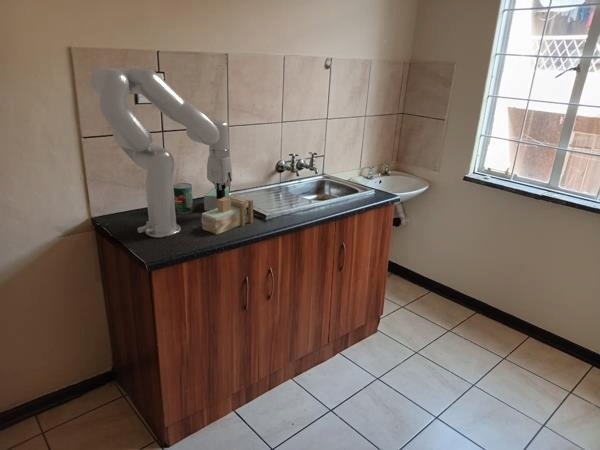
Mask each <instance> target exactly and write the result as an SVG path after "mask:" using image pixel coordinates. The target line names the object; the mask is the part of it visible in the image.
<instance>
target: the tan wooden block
mask: <svg viewBox="0 0 600 450" xmlns="http://www.w3.org/2000/svg"><path fill="white" fill-rule="evenodd" d="M227 198H230V199H231V205H234V206H237V207H240V202H244V203H245V208H246V209H247V208H248V200H249V199H247V198H243V197H239V196H233V195H232V194H229V196H227Z"/></svg>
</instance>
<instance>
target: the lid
mask: <svg viewBox="0 0 600 450" xmlns="http://www.w3.org/2000/svg"><path fill="white" fill-rule="evenodd" d="M245 210H247V208H245ZM237 213H240V207H237V206H234V205H231V199H230V198H227V197H225V198H221V199H218V208H217V209H214V210H211V211H205V212H202V213H201V217H202V216H204V217H207V218H210V219H213V220H216V221H217V220H220V219H223V218H225V217H228V216H231V215H234V214H237Z"/></svg>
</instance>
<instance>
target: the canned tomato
mask: <svg viewBox="0 0 600 450" xmlns="http://www.w3.org/2000/svg"><path fill="white" fill-rule="evenodd" d="M173 188H174V200H175V214H181V215H183V214H184V215H185V214H189V213H192V212H194V202H193V185H192V184H191V183H187V182H178V183H177V182H176V183H173Z"/></svg>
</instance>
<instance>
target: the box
mask: <svg viewBox="0 0 600 450" xmlns="http://www.w3.org/2000/svg"><path fill="white" fill-rule="evenodd" d="M203 195H204V194H203ZM229 195H230V188H229V187H226V189H225V197H227V196H229ZM203 206H204V207H203V208H204V209H203V210H204V211H205V212H208V211H211V210H214V209H217V208H218V199H217V198H216V189H215V187H213V188H211V189H210V190H209V191H208V192H206V194H205V195H204V196H203Z"/></svg>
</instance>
